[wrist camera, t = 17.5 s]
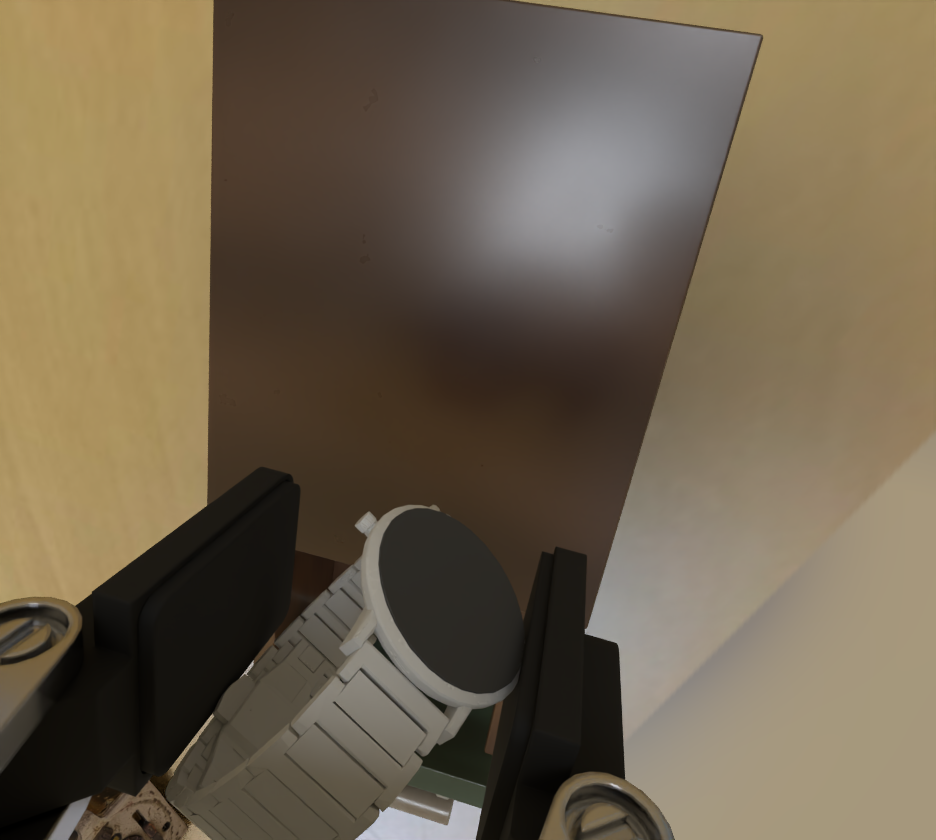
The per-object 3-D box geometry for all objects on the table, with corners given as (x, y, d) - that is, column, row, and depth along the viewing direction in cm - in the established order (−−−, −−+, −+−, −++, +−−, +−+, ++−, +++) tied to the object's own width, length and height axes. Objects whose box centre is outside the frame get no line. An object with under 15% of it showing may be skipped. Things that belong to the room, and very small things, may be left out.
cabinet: (589, 502, 26) (586, 630, 18) (318, 436, 27) (206, 526, 20) (698, 104, 20) (764, 33, 12) (351, 51, 22) (212, -42, 14)
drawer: (510, 752, 30) (487, 894, 24) (301, 688, 32) (228, 806, 25) (602, 404, 23) (605, 474, 17) (331, 344, 25) (242, 388, 19)
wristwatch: (548, 552, 10) (512, 835, 6) (361, 683, 12) (216, 980, 7) (433, 430, 10) (290, 624, 5) (258, 584, 12) (38, 829, 7)
